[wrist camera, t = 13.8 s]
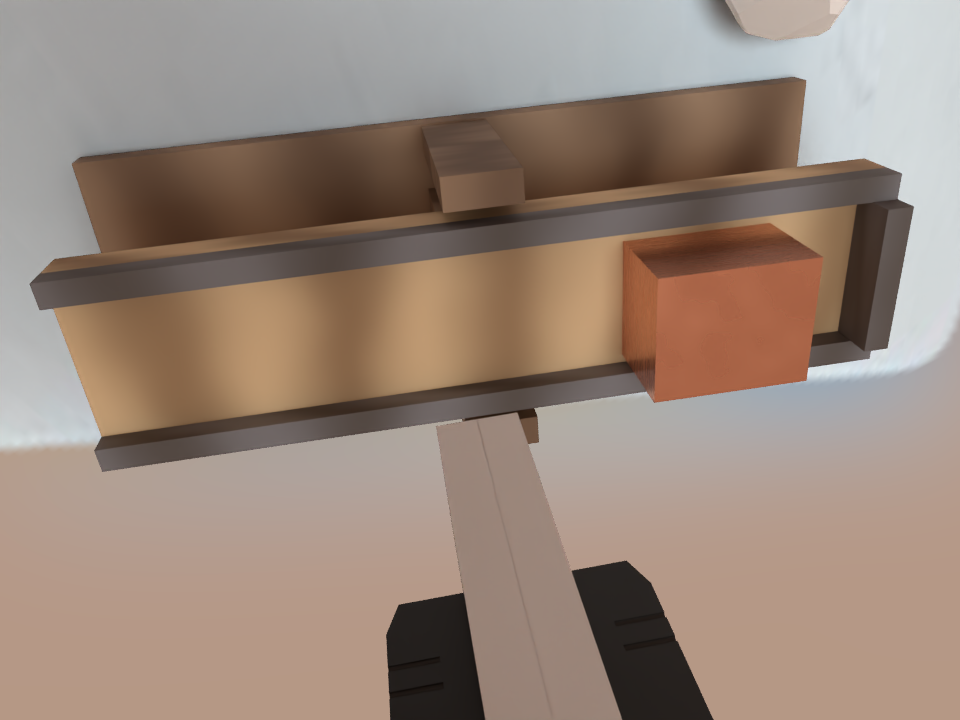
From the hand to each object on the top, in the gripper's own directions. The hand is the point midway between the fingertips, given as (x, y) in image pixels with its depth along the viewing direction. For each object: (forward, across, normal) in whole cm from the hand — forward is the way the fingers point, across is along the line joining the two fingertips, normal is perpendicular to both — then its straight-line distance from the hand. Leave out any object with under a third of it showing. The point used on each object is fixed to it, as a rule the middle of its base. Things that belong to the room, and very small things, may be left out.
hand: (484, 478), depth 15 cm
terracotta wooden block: (+16, +11, -5) cm, 20 cm away
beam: (+17, +2, -5) cm, 17 cm away
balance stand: (+26, +2, -5) cm, 26 cm away
